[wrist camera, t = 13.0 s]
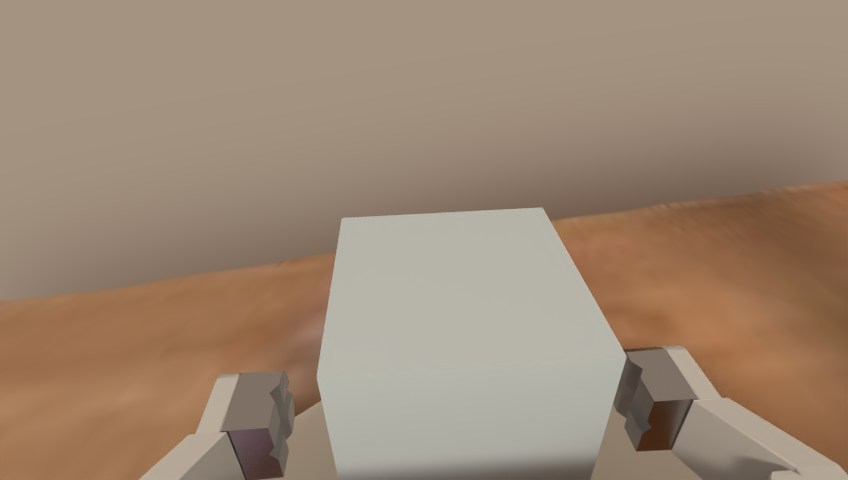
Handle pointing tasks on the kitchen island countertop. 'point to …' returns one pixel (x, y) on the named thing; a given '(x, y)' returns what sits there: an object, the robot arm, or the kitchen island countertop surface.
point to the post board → (612, 476)
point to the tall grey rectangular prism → (463, 351)
